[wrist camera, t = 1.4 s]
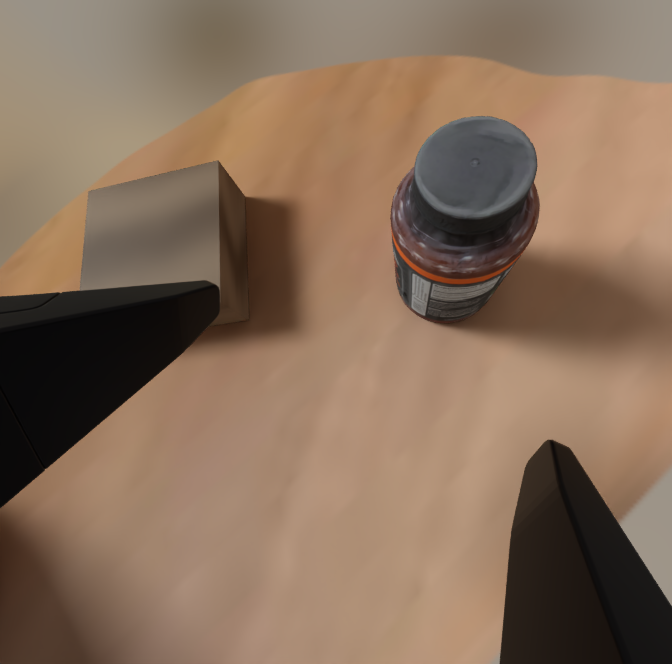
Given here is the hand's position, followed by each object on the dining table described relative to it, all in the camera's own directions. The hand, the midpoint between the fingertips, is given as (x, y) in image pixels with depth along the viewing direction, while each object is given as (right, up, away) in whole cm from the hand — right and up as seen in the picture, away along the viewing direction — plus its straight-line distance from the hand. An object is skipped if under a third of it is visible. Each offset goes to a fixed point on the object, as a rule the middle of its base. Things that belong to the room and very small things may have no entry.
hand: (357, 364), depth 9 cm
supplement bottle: (+6, +4, +14) cm, 16 cm away
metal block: (-12, +6, +18) cm, 22 cm away
